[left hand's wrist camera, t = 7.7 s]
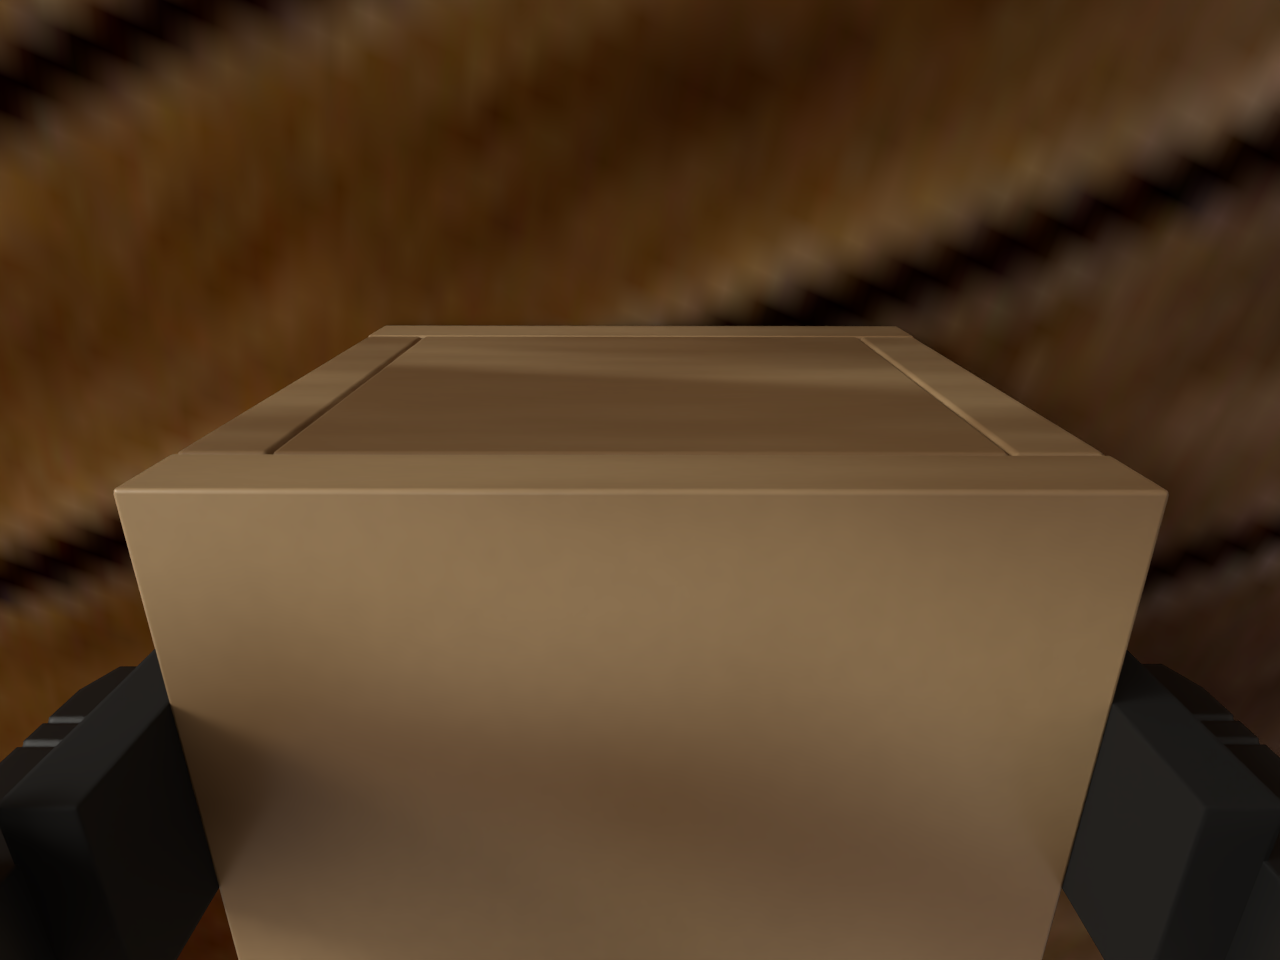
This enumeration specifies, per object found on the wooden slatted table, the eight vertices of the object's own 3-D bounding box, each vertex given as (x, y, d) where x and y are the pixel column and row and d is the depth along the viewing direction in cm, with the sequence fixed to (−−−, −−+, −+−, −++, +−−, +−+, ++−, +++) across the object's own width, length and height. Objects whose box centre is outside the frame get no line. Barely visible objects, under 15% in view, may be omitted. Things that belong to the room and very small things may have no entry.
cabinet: (809, 1048, 23) (895, 1501, 15) (470, 1047, 23) (382, 1500, 15) (897, 325, 15) (1172, 491, 7) (384, 325, 15) (109, 489, 7)
